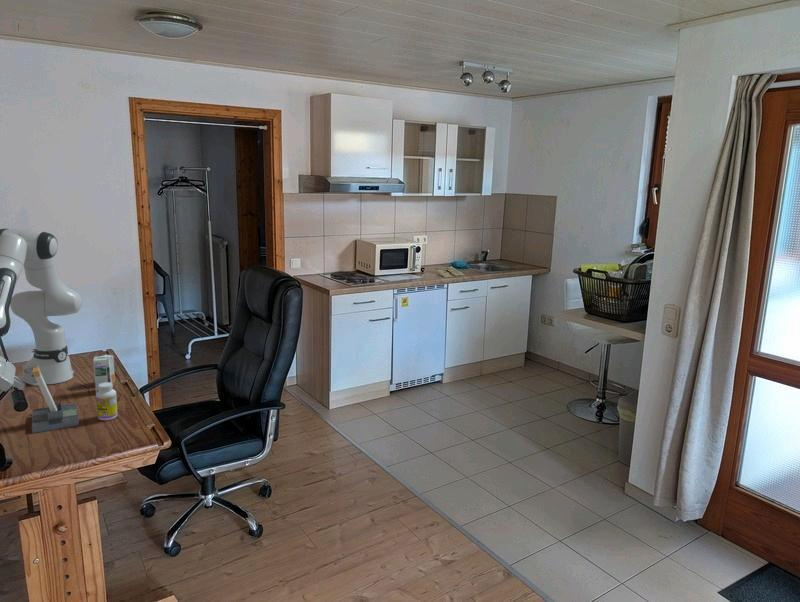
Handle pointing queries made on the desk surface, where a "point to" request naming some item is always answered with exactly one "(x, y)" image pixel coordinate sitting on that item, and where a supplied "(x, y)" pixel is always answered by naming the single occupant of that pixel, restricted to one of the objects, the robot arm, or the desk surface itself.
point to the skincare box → (112, 368)
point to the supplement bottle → (106, 402)
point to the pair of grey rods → (47, 407)
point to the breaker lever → (44, 389)
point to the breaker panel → (55, 418)
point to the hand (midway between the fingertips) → (23, 387)
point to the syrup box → (102, 370)
